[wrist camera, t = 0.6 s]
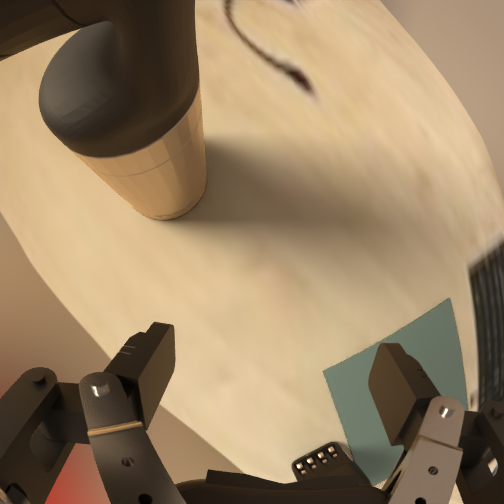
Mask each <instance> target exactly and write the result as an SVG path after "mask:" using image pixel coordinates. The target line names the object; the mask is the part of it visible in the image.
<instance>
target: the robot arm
mask: <svg viewBox="0 0 504 504" xmlns="http://www.w3.org/2000/svg"><path fill="white" fill-rule="evenodd" d="M81 28H82V29H81ZM77 29H80V30H79V31H78V32H77V33H75V34H74V35H73V36H72V37H71V38H70V39H69V40H68V41H66V42H65V44H64V45H63V46H62V47H61V48H60V49H59V50H58V51H57V53H56V54H55V55H54V57H53V58H52V60H51V61H50V63H49V65H48V67H47V69H46V71H45V73H44V75H43V78H42V81H41V85H40V89H39V108H40V112H41V115H42V118H43V120H44V122H45V124H46V125H47V127H48V128H49V129H50V130H51V132H52V133H53V134H54V135H55V136H56V137H57V138H58V139H59V140H60V141H61V142H62V143H63V144H64V145H66V146H67V147H68V148H69V149H70V150H71V151H72V152H73V153H74V154H75V155H76V156H78V157H79V158H80V159H81V160H82V161H83V162H84V163H85V164H86V165H87V166H88V167H90V168H91V169H92V170H93V171H94V172H95V173H96V174H97V175H98V176H99V177H100V178H101V179H102V180H104V181H105V182H106V183H107V184H108V185H109V186H110V187H111V188H112V189H113V190H114V191H116V192H117V193H118V194H119V195H120V196H121V197H122V198H123V199H124V200H125V201H126V202H128V203H129V204H130V205H131V206H132V207H133V208H134V209H135V210H137V211H138V212H139V213H141V214H142V215H144V216H146V217H149V218H151V219H157V220H168V219H173V218H176V217H179V216H181V215H183V214H185V213H187V212H188V211H189V210H191V209H192V208H193V207H194V206H195V205H196V204H197V203H198V201H199V200H200V198H201V197H202V195H203V193H204V190H205V187H206V182H207V170H206V157H205V145H204V132H203V119H202V105H201V94H200V79H199V65H198V55H197V45H196V31H195V0H0V61H2V60H4V59H6V58H8V57H10V56H12V55H15V54H17V53H19V52H21V51H24V50H26V49H28V48H30V47H33V46H35V45H37V44H40V43H42V42H45V41H47V40H50V39H52V38H55V37H57V36H60V35H63V34H66V33H69V32H71V31H74V30H77ZM174 368H175V334H174V326H173V325H171V324H165V323H159V322H153V324H152V325H151V326H150V328H149V329H148V330H147V332H146V333H144V332H139V333H137V334H135V335H133V336H132V337H130V338H129V339H128V340H127V342H126V343H125V344H124V346H123V347H122V348H121V349H120V351H119V352H118V353H117V355H116V356H115V357H114V358H113V360H112V361H111V362H110V364H109V365H108V366H107V367H106V369H105V370H104V371H103V372H95V373H92V374H89V375H87V376H85V377H84V378H83V379H82V380H81V381H80V383H79V384H75V383H61V382H58V380H57V377H56V374H55V373H54V372H53V371H52V370H50V369H48V368H43V367H38V368H32V369H30V370H28V371H26V372H25V373H23V374H22V375H21V377H20V378H19V379H18V380H17V381H16V382H15V383H14V384H13V385H12V386H11V387H10V389H9V390H8V391H7V392H6V393H5V394H4V395H3V396H2V397H1V399H0V504H45V502H46V499H47V497H48V495H49V493H50V491H51V489H52V487H53V485H54V483H55V481H56V479H57V477H58V475H59V474H60V472H61V470H62V468H63V466H64V464H65V462H66V460H67V458H68V456H69V454H70V453H71V450H72V449H73V447H74V445H75V443H81V444H91V448H92V451H93V454H94V458H95V461H96V464H97V467H98V470H99V473H100V475H101V478H102V481H103V484H104V487H105V490H106V492H107V495H108V497H109V500H110V502H111V504H448V503H449V500H450V497H451V494H452V491H453V488H454V484H455V482H456V484H457V487H458V490H459V492H460V495H461V498H462V501H463V503H464V504H504V404H503V403H501V402H498V401H487V402H485V403H484V404H483V406H482V408H481V409H480V411H479V412H473V411H464V408H463V406H462V405H461V403H460V402H458V401H457V400H456V399H454V398H451V397H448V396H441V395H440V393H439V391H438V390H437V388H436V387H435V385H434V384H433V382H432V381H431V379H430V378H429V377H428V375H427V373H426V372H425V371H423V368H422V366H421V365H420V363H419V362H418V361H417V360H416V359H414V358H413V357H412V356H410V355H407V353H406V352H405V351H404V349H403V348H402V346H401V345H400V344H399V343H381V344H380V345H379V347H378V349H377V352H376V355H375V359H374V362H373V365H372V368H371V371H370V374H369V378H368V387H369V390H370V393H371V395H372V398H373V400H374V403H375V405H376V408H377V410H378V413H379V415H380V418H381V421H382V423H383V426H384V429H385V431H386V434H387V437H388V439H389V442H390V445H391V446H398V445H403V446H404V449H403V451H402V452H401V454H400V456H399V458H398V460H397V462H396V464H395V466H394V468H393V470H392V472H391V474H390V475H389V477H388V479H387V481H386V483H385V484H384V486H383V488H382V489H378V488H376V487H372V486H369V485H364V484H358V480H357V475H356V474H352V475H338V476H321V477H317V478H312V479H308V480H303V481H298V482H293V483H287V484H283V483H278V482H274V481H270V480H266V479H262V478H258V477H254V476H251V475H247V474H240V473H231V472H223V471H215V470H208V472H207V477H206V479H197V480H190V481H186V482H181V483H178V484H174V483H173V481H172V479H171V478H170V476H169V474H168V473H167V471H166V469H165V468H164V465H163V464H162V462H161V460H160V458H159V456H158V454H157V453H156V451H155V449H154V447H153V445H152V443H151V441H150V439H149V437H148V435H147V433H146V431H145V430H147V429H148V427H149V425H150V423H151V420H152V418H153V416H154V414H155V411H156V409H157V407H158V405H159V403H160V401H161V398H162V396H163V394H164V392H165V390H166V387H167V385H168V383H169V381H170V379H171V376H172V374H173V372H174ZM38 426H39V427H38ZM36 429H37V430H36ZM35 430H36V431H35ZM33 433H34V434H33ZM490 449H491V451H492V453H493V455H494V456H495V458H496V460H497V463H498V470H497V473H496V475H495V476H494V477H493V475H492V473H491V471H490V469H489V467H488V465H487V463H486V461H485V459H484V457H485V456H486V454H487V453H488V452H489V451H490Z"/></svg>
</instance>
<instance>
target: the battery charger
mask: <svg viewBox="0 0 504 504" xmlns="http://www.w3.org/2000/svg"><path fill="white" fill-rule="evenodd" d="M292 470H293V473H294V475H295V477H296V479H297V481H303V480H308V479H312V478H317V477H321V476H338V475H352V474H356V475H357V480H358V484H364V485H369V486H372V487H373V485H372V484H371V482H370V480H369V479H368V477H367V476H366V475H365V473H364V472H363V471H362V469H361V468H360V467H359V466H358V465H357V464H356V463H355V462H352V461H351V460H350V459H349V458H348V456H347V455H346V454H345V453H344V451H343V450H342V449H341V447H340V446H339V445H338V444H337V443H335V442H331V443H328V444H326V445H324V446H322V447H320V448H318V449H316V450H314V451H312V452H310V453H308V454H306V455H305V456H303V457H301V458H299V459H297V460H295V461H294V462H293V463H292Z"/></svg>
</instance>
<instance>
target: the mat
mask: <svg viewBox="0 0 504 504" xmlns="http://www.w3.org/2000/svg"><path fill="white" fill-rule="evenodd" d="M381 343H399V344H400V345H401V346H402V348H403V349H404V351H405V352H406V353H407V355H410V356H412V357H413V358H414V359H416V360H417V361H418V362H419V363H420V365H421V366H422V368H423V371H425V372H426V373H427V375H428V377H429V378H430V379H431V381H432V382H433V384H434V385H435V387H436V388H437V390H438V391H439V393H440V395H441V396H448V397H451V398H454V399H456V400H457V401H458V402H460V403H461V405H462V406H463V408H464V411H468V406H467V394H466V385H465V376H464V368H463V361H462V355H461V349H460V343H459V337H458V332H457V327H456V322H455V317H454V313H453V309H452V304H451V300H450V298H448V299H447V300H445V301H444V302H442V303H441V304H439V305H438V306H436V307H435V308H433V309H432V310H430V311H429V312H427V313H426V314H424V315H423V316H421V317H419V318H418V319H416V320H415V321H413V322H412V323H410V324H408V325H407V326H405V327H403V328H402V329H400V330H398V331H397V332H395V333H393V334H392V335H390V336H388V337H387V338H385V339H383V340H381V341H380V342H378V343H376V344H374V345H372V346H371V347H369V348H367V349H365V350H363V351H361V352H360V353H358V354H356V355H354V356H352V357H350V358H348V359H346V360H344V361H342V362H340V363H338V364H336V365H334V366H332V367H330V368H328V369H326V370H324V371H323V373H324V376H325V378H326V381H327V384H328V387H329V390H330V392H331V395H332V398H333V401H334V404H335V406H336V409H337V412H338V415H339V418H340V421H341V424H342V426H343V429H344V432H345V435H346V438H347V441H348V444H349V447H350V450H351V453H352V456H353V458H354V461H355V463H356V464H357V465H358V466H359V467H360V468H361V469H362V471H363V472H364V473H365V475H366V476H367V477H368V479H369V480H370V482H371V484H372V485H373V486H375V485H377V484H378V483H380V482H382V481H384V480H385V479H387V478H388V477H389V475H390V474H391V472H392V470H393V468H394V466H395V464H396V462H397V460H398V458H399V456H400V454H401V452H402V451H403V449H404V446H403V445H398V446H391V445H390V442H389V439H388V437H387V434H386V431H385V429H384V426H383V423H382V421H381V418H380V415H379V413H378V410H377V408H376V405H375V403H374V400H373V398H372V395H371V393H370V390H369V387H368V378H369V374H370V371H371V368H372V365H373V362H374V359H375V355H376V352H377V349H378V347H379V345H380V344H381Z"/></svg>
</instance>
